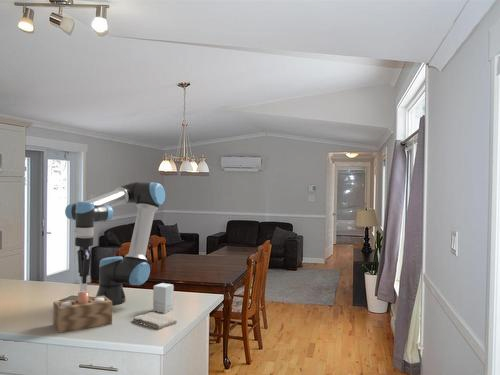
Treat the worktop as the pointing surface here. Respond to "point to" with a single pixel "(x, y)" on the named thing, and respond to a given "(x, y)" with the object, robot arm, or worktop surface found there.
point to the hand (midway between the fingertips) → (83, 290)
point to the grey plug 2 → (98, 299)
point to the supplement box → (163, 297)
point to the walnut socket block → (82, 314)
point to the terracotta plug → (83, 297)
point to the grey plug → (66, 303)
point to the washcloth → (155, 320)
